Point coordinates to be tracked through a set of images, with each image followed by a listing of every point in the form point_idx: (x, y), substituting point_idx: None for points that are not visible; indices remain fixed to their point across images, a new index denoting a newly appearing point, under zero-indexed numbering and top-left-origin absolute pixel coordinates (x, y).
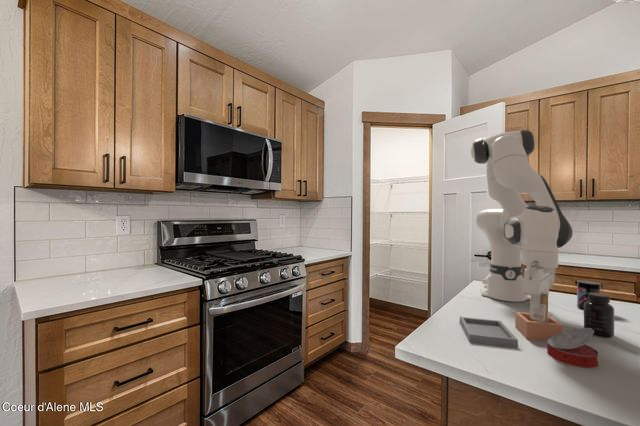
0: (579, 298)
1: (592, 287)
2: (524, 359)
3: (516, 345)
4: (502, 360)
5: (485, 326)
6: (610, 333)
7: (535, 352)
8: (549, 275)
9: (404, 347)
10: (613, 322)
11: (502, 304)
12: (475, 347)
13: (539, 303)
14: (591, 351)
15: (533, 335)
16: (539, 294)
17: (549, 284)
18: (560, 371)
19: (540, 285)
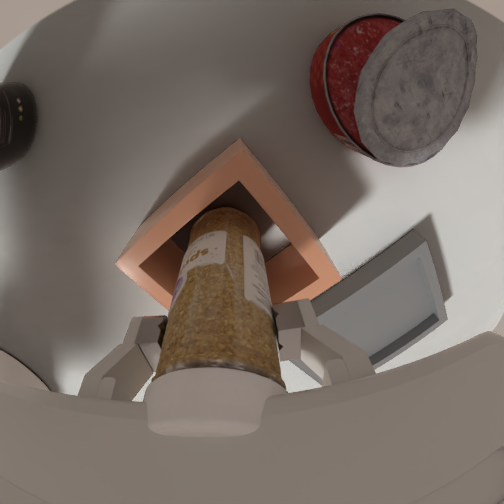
0: None
1: None
2: (469, 191)
3: (416, 234)
4: (490, 222)
5: None
6: (12, 83)
7: (417, 182)
8: (30, 494)
9: (492, 329)
10: None
11: (60, 376)
12: (460, 284)
13: (316, 320)
14: (380, 31)
15: (310, 229)
16: (483, 343)
17: (77, 432)
18: (477, 114)
19: (497, 411)
